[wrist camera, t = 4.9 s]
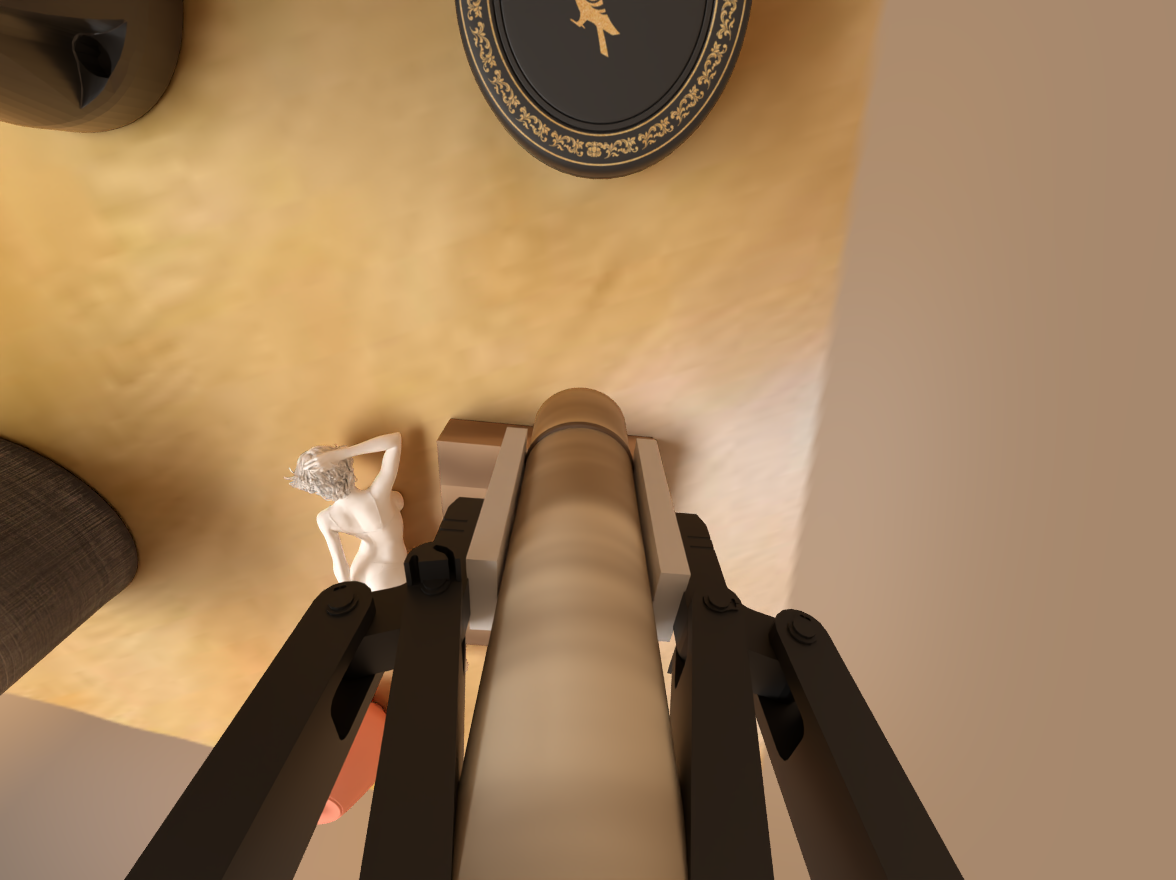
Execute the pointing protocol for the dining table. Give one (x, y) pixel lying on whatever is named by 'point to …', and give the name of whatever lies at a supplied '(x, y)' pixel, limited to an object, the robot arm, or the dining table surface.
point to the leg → (572, 677)
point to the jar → (602, 74)
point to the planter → (52, 557)
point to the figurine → (359, 510)
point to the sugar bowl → (357, 766)
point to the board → (475, 470)
